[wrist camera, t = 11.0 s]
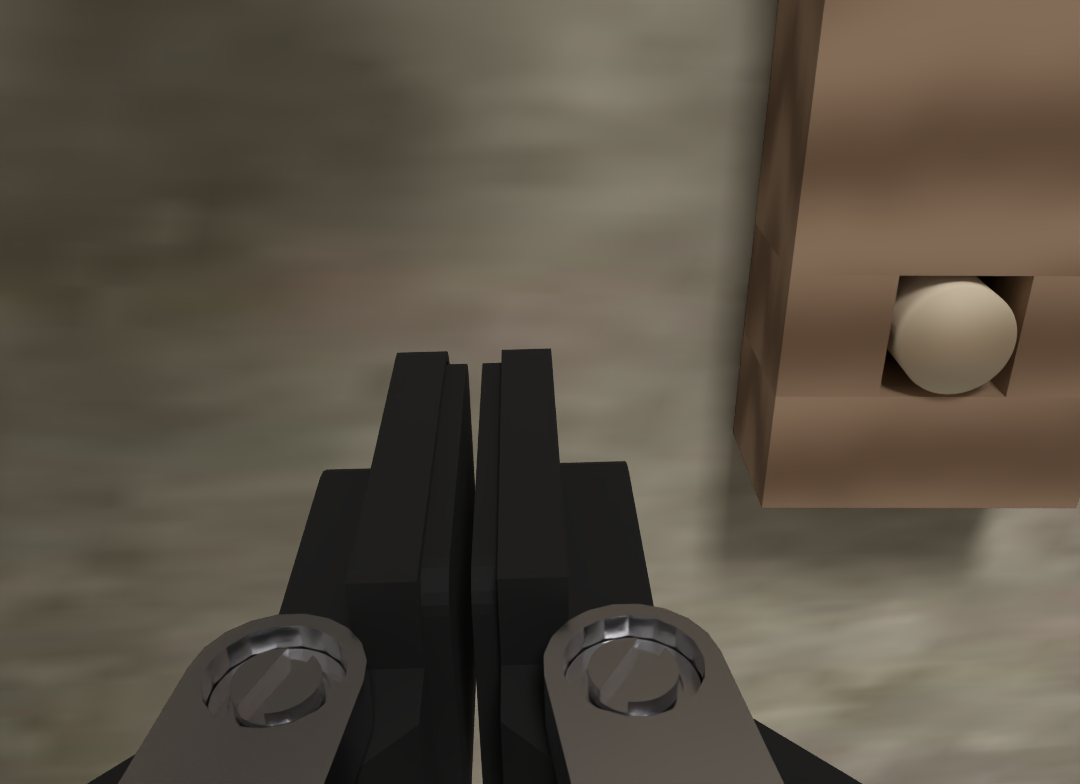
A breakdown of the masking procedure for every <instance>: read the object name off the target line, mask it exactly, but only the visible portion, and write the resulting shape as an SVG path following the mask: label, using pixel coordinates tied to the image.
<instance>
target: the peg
mask: <svg viewBox="0 0 1080 784" xmlns="http://www.w3.org/2000/svg"><path fill="white" fill-rule="evenodd" d="M1016 339H1017V324H1016V320H1015V316H1014V314H1013V312H1012V310H1011V309H1010V307H1009V306H1008V304H1007V303H1006V302H1005V301H1004V300H1003V299H1002V298H1000V297H999V296H998V295H997V294H996V293H995V292H994V291H992V290H991V289H990V288H989V287H988V286H987V285H985V284H984V283H983V282H982V281H981V280H980V279H979V278H977V277H976V276H901V275H900V276H899V282H898V288H897V293H896V299H895V305H894V311H893V316H892V322H891V328H890V334H889V340H888V345H887V349H888V351H889V352H890V353H891V355H892V356H893V357H894V358H895V360H896V361H897V362H898V363H899V365H900V366H901V367H902V369H903V370H904V371H905V372H906V374H907V375H908V376H909V378H910V379H911V380H912V381H913V382H914V383H915V384H917V385H918V386H920V387H921V388H923V389H925V390H927V391H930V392H933V393H938V394H958V393H963V392H967V391H970V390H973V389H975V388H977V387H979V386H981V385H983V384H985V383H986V382H988V381H989V380H991V379H992V378H993V377H994V376H996V375H997V374H998V373H999V372H1000V371H1001V370H1002V368H1003V367H1004V366H1005V365H1006V363H1007V362H1008V360H1009V358H1010V357H1011V355H1012V352H1013V350H1014V347H1015V344H1016Z"/></svg>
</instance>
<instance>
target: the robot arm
mask: <svg viewBox="0 0 1080 784" xmlns="http://www.w3.org/2000/svg"><path fill="white" fill-rule="evenodd" d="M476 684H477V699H478V715H479V731H480V746H481V762H482V778H483V784H862V783H860V782H858V781H857V780H855V779H853V778H852V777H850V776H848V775H847V774H845V773H843V772H842V771H840V770H838V769H837V768H835V767H833V766H832V765H830V764H828V763H827V762H825V761H823V760H822V759H820V758H818V757H817V756H815V755H813V754H812V753H810V752H808V751H807V750H805V749H803V748H802V747H800V746H798V745H797V744H795V743H793V742H792V741H790V740H788V739H787V738H785V737H783V736H782V735H780V734H778V733H777V732H775V731H773V730H772V729H770V728H768V727H767V726H765V725H763V724H762V723H760V722H758V721H757V720H755V719H753V718H752V715H751V713H750V711H749V709H748V707H747V705H746V703H745V701H744V699H743V697H742V695H741V692H740V690H739V688H738V686H737V684H736V682H735V680H734V678H733V676H732V674H731V671H730V669H729V667H728V665H727V663H726V661H725V659H724V657H723V655H722V653H721V651H720V649H719V648H718V646H717V645H716V644H715V642H714V641H713V639H712V638H711V637H710V635H709V634H708V633H707V632H706V631H705V630H703V629H702V628H701V627H699V626H698V625H697V624H695V623H694V622H693V621H691V620H690V619H689V618H686V617H684V616H682V615H679V614H677V613H674V612H672V611H670V610H667V609H665V608H659V607H654V605H653V600H652V595H651V589H650V584H649V578H648V573H647V567H646V562H645V557H644V551H643V546H642V540H641V535H640V530H639V524H638V519H637V513H636V508H635V503H634V497H633V492H632V486H631V481H630V476H629V470H628V466H627V463H626V462H625V461H616V462H581V463H560V460H559V447H558V434H557V421H556V408H555V395H554V382H553V369H552V356H551V349H519V350H502V363H483V365H482V382H481V399H480V417H479V435H478V452H477V470H476V487H475V478H474V461H473V443H472V426H471V409H470V391H469V375H468V366H467V364H450V363H449V355H448V352H447V351H445V352H408V353H397V355H396V359H395V364H394V368H393V373H392V377H391V381H390V386H389V390H388V395H387V399H386V404H385V408H384V412H383V417H382V421H381V426H380V430H379V435H378V439H377V444H376V448H375V452H374V457H373V461H372V466H371V468H370V469H334V470H325V471H323V473H322V475H321V478H320V480H319V483H318V487H317V490H316V493H315V497H314V500H313V503H312V506H311V510H310V513H309V516H308V520H307V523H306V526H305V530H304V533H303V536H302V540H301V543H300V546H299V550H298V553H297V556H296V559H295V563H294V566H293V569H292V573H291V576H290V579H289V583H288V586H287V589H286V593H285V596H284V599H283V603H282V606H281V609H280V612H279V615H274V616H270V617H266V618H262V619H257V620H253V621H250V622H248V623H245V624H243V625H241V626H239V627H236V628H234V629H232V630H230V631H228V632H225V633H224V634H223V635H221V636H220V637H219V638H217V639H216V640H214V641H213V642H212V643H210V644H209V645H208V646H206V647H205V648H204V649H203V650H202V651H201V652H200V653H199V655H198V656H197V657H196V658H195V659H194V661H193V662H192V663H191V664H190V666H189V667H188V668H187V670H186V672H185V673H184V675H183V677H182V678H181V680H180V682H179V683H178V685H177V687H176V688H175V690H174V692H173V693H172V695H171V697H170V698H169V700H168V702H167V703H166V705H165V707H164V708H163V710H162V712H161V713H160V715H159V717H158V718H157V720H156V722H155V723H154V725H153V726H152V728H151V730H150V731H149V733H148V735H147V736H146V738H145V740H144V741H143V743H142V745H141V746H140V748H139V750H138V751H137V753H136V754H135V755H133V756H132V757H130V758H128V759H127V760H125V761H124V762H122V763H120V764H119V765H117V766H115V767H114V768H112V769H111V770H109V771H107V772H106V773H104V774H102V775H101V776H99V777H98V778H96V779H94V780H93V781H91V782H89V783H88V784H472V762H473V739H474V715H475V692H476Z"/></svg>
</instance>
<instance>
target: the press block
mask: <svg viewBox="0 0 1080 784" xmlns="http://www.w3.org/2000/svg"><path fill="white" fill-rule="evenodd" d="M900 275H901V276H976V277H977V278H979V279H980V280H981V281H982V282H983V283H984V284H985V285H987V286H988V287H989V288H990V289H991V290H992V291H994V292H995V293H996V294H997V295H998V296H999V297H1000V298H1002V299H1003V300H1004V301H1005V302H1006V303H1007V304H1008V306H1009V307H1010V309H1011V310H1012V312H1013V314H1014V316H1015V320H1016V324H1017V339H1016V344H1015V347H1014V350H1013V352H1012V355H1011V357H1010V358H1009V360H1008V362H1007V363H1006V365H1005V366H1004V367H1003V368H1002V370H1001V371H1000V372H999V373H998V374H997V375H996V376H994V377H993V378H992V379H991V380H989V381H988V382H986V383H985V384H983V385H981V386H979V387H977V388H975V389H973V390H970V391H967V392H963V393H958V394H938V393H933V392H930V391H927V390H925V389H923V388H921V387H920V386H918V385H917V384H915V383H914V382H913V381H912V380H911V379H910V378H909V376H908V375H907V374H906V372H905V371H904V370H903V369H902V367H901V366H900V365H899V363H898V362H897V361H896V360H895V358H894V357H893V356H892V355H891V353H890V352H889V351H888V349H887V345H888V340H889V334H890V328H891V322H892V316H893V311H894V305H895V299H896V293H897V288H898V282H899V276H900ZM733 433H734V436H735V438H736V441H737V443H738V446H739V449H740V451H741V454H742V457H743V459H744V462H745V465H746V467H747V470H748V472H749V475H750V478H751V480H752V483H753V486H754V488H755V491H756V494H757V496H758V499H759V501H760V504H761V507H762V508H1077V505H1078V501H1079V498H1080V0H779V2H778V11H777V21H776V30H775V40H774V49H773V59H772V68H771V78H770V87H769V97H768V106H767V116H766V125H765V135H764V144H763V154H762V163H761V173H760V182H759V192H758V201H757V211H756V220H755V230H754V239H753V249H752V258H751V268H750V277H749V286H748V296H747V305H746V315H745V324H744V334H743V343H742V353H741V362H740V372H739V381H738V391H737V400H736V410H735V419H734V429H733Z"/></svg>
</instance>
